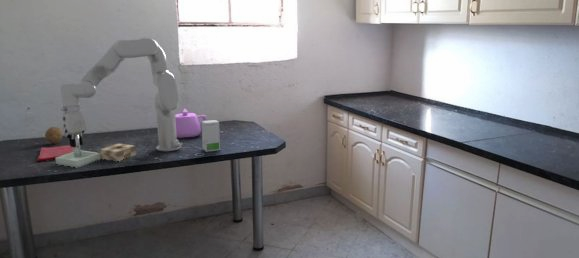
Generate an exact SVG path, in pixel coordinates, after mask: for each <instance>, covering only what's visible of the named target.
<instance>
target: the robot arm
mask: <svg viewBox="0 0 579 258" xmlns="http://www.w3.org/2000/svg"><path fill="white" fill-rule="evenodd" d="M143 57H144V58H145V57H147V58H148V60H149V66H150V69H151V75H152V78H151V79H152V82H153V83H152V84H153V85H154V86H155V87H156V88H157V90H158V92H157V93H156V94H155V96H154V99H153V101H154V106H155V107H154V108H155V112H156V123H157V124H156V125H157V135H158V145H157V146H156V147H155V148H156V150H157V151H159V152H172V151H177V150H179V149H181V148H182V146H183V142H180V141H179V139H178V137H177V134H176V121H175V115H176V111H175V110H176V109H177V108H178V106H179V104H180V103H179V101H180V100H179V91H178V84H177V80H176V77H175V75H174V74H173V73H172V72H170V70H169V64H168V59H167V56H166V53H165V51H164V49H163V48H162V47H161V46H160V45H159V44H158V42H157V41H156V40H155V39H153V38H150V37H148V38H147V37H141V38H138V39H118V40H117V41H115V42H114V43H113V44H112V45H111V46H110V47H109V48H108V50H107V51H106V52H105V53H104V55H102V57H101V58H100V59H99V60H98V61H97V62H96V63H95V64H93V66H92V67H91V68H90V69H89V71H87V72H86V73H85V75H84V76H83V77H82V78H81V79H80V81H78V83H77V82H65V83H60V86H59V88H60V89H59V90H60V97H61V103H62V108H61V112H62V114H61V115H62V117H61V126H62V132H63V133H62V135H63V136H62V137H66V138H67V139H68V141H69V145H70V146H71V147H76V142H75V139H74V133H77V132H80V133H79V140H80V146H83V135H84V133H85V132H86V131H87V129H88V128H87V124H86V118H85V115H84V111H83V110H82V109H81V102H80V98H84V99H85V98H86V99H88V98H93V97H94V96H95V95H96V94H97V86H98V85H99V84H100V83H101V82H102V81H103V80H104V79H105V78H107V77H109V76H111V75H112V74H113V73H115V71H117V69H118V68H120V66H121V64H122V63H123V62H124V61H125V60H126V59H135V58H143Z"/></svg>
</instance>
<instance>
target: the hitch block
mask: <svg viewBox="0 0 579 258" xmlns="http://www.w3.org/2000/svg"><path fill="white" fill-rule="evenodd" d="M136 150H137V149H136V145H133V144H126V143H124V144H123V143H115V144H111V145H108V146H106V147H103V148H99V153H100V159H101V160H104V159H106V161H111V160H113V162H117V161H119V162H122V161H124V160H127V159H130V158H132V157H134V156H137V151H136ZM129 157H130V158H129ZM126 158H127V159H126ZM123 159H124V160H123ZM121 160H122V161H121Z"/></svg>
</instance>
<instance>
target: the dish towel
mask: <svg viewBox="0 0 579 258" xmlns="http://www.w3.org/2000/svg"><path fill="white" fill-rule="evenodd" d="M72 152H74V151H73V147H71V146H70V144H67V145H59V146H51V147H40V151H39V153H38V157H37V159H36V162H37V161H44V162H48V161H47V160H52V161H56V159H55V158H56V157H59V156H62V155H66V154H69V153H72ZM39 154H40V155H39Z"/></svg>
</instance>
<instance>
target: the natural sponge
mask: <svg viewBox="0 0 579 258" xmlns="http://www.w3.org/2000/svg"><path fill="white" fill-rule="evenodd" d="M62 133H63V129H61V128H60V127H56V126H52V127H49V128H48V129H47V130H46V131H45V134H44V137H45V138H44V139H46V141H48V142H49V143H51V144H53V145H57V144H58V143H60V142H61V140H62V139H63V137H64V136H63V135H62Z"/></svg>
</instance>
